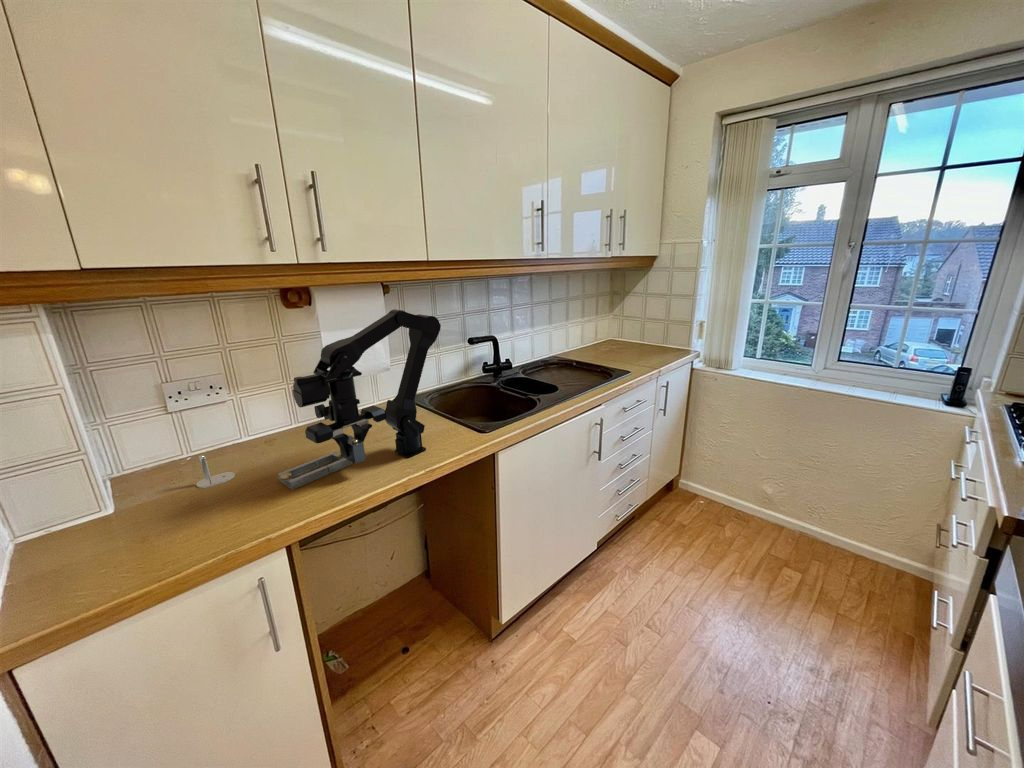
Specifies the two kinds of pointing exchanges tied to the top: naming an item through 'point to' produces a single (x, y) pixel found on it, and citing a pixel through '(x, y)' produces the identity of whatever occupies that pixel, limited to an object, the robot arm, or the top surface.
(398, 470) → the top surface
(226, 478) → the stand
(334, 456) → the end link
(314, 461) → the end link
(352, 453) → the block with brass studs
